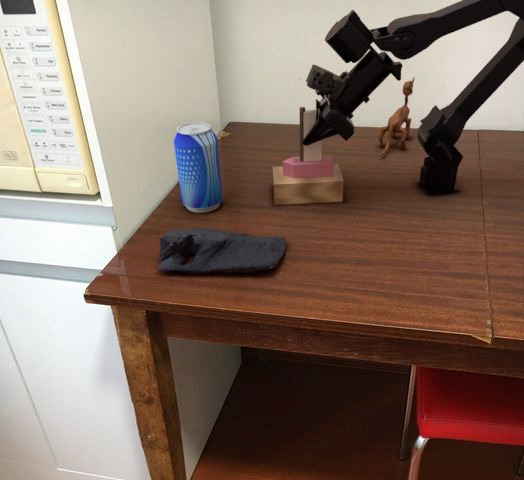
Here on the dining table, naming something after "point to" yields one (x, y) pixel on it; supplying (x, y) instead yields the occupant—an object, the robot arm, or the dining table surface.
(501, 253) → the dining table surface
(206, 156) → the beer can
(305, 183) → the wood block
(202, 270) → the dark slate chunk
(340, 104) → the robot arm
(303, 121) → the toy boat
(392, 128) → the brown animal figurine
